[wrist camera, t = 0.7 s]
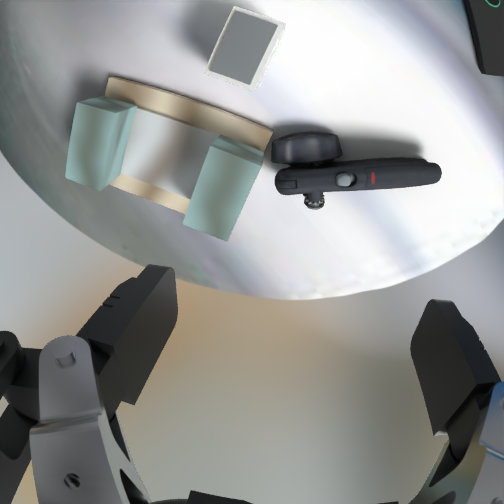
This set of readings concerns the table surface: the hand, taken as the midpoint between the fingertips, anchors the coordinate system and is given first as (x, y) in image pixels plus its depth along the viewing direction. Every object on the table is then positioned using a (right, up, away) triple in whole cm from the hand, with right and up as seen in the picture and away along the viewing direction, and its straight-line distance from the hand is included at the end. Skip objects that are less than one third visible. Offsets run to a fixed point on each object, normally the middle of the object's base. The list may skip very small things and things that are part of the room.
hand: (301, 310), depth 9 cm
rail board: (-10, +12, +21) cm, 27 cm away
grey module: (-1, +20, +15) cm, 25 cm away
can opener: (+9, +11, +21) cm, 25 cm away
